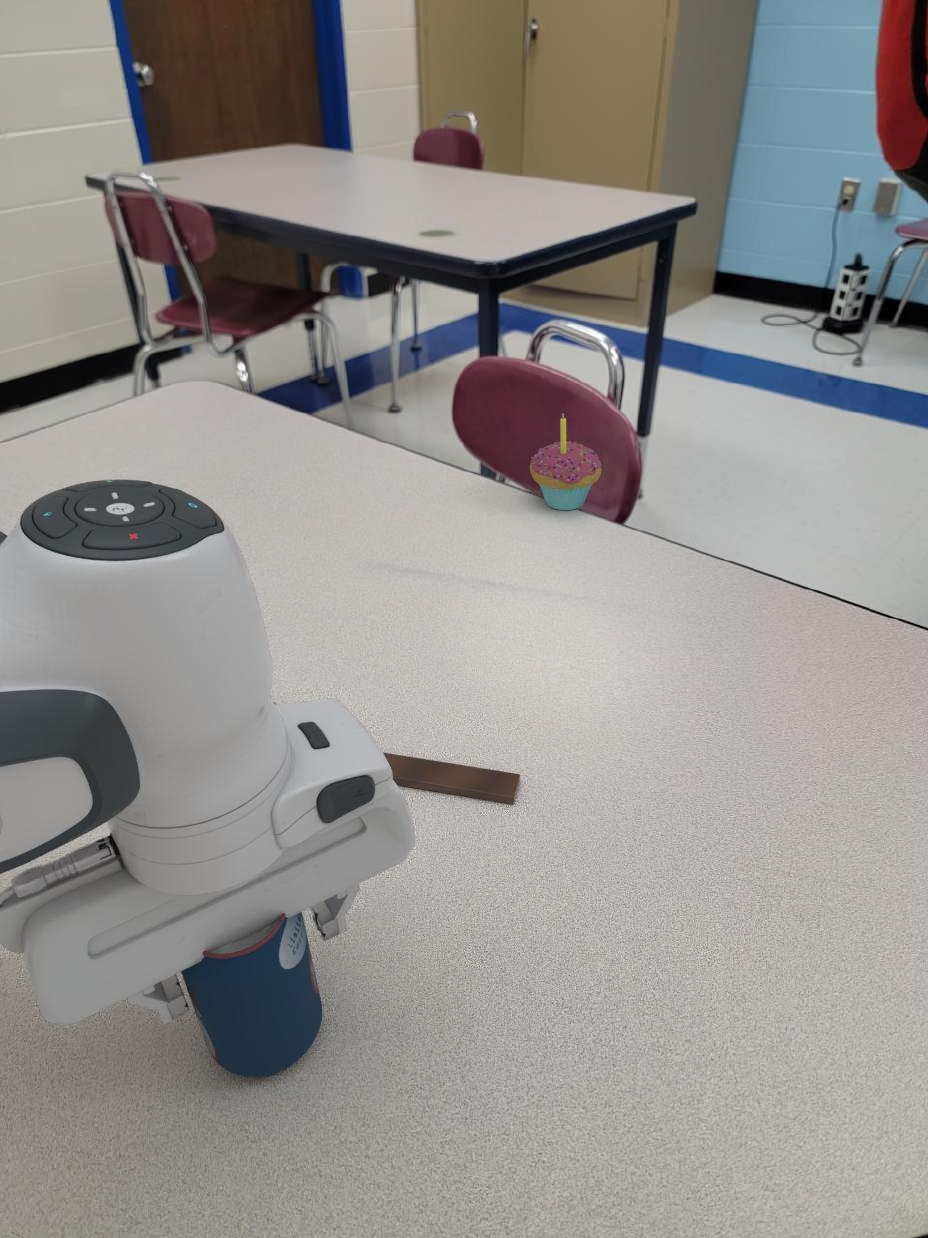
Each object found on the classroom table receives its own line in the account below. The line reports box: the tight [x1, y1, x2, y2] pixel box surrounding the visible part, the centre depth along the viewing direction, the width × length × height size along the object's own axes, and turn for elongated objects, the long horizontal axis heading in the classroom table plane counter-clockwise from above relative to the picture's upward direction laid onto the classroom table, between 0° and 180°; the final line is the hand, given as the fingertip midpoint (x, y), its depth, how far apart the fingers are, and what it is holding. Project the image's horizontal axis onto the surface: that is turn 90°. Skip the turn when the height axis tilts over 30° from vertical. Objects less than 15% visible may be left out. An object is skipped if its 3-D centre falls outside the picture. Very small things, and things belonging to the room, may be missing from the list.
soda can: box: [180, 911, 323, 1078], centre depth 51 cm, size 7×7×12 cm
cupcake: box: [529, 412, 603, 511], centre depth 105 cm, size 9×8×12 cm
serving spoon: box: [273, 700, 521, 805], centre depth 74 cm, size 33×13×1 cm, turn 76°
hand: (255, 966), depth 51 cm, fingers open, 8 cm apart
